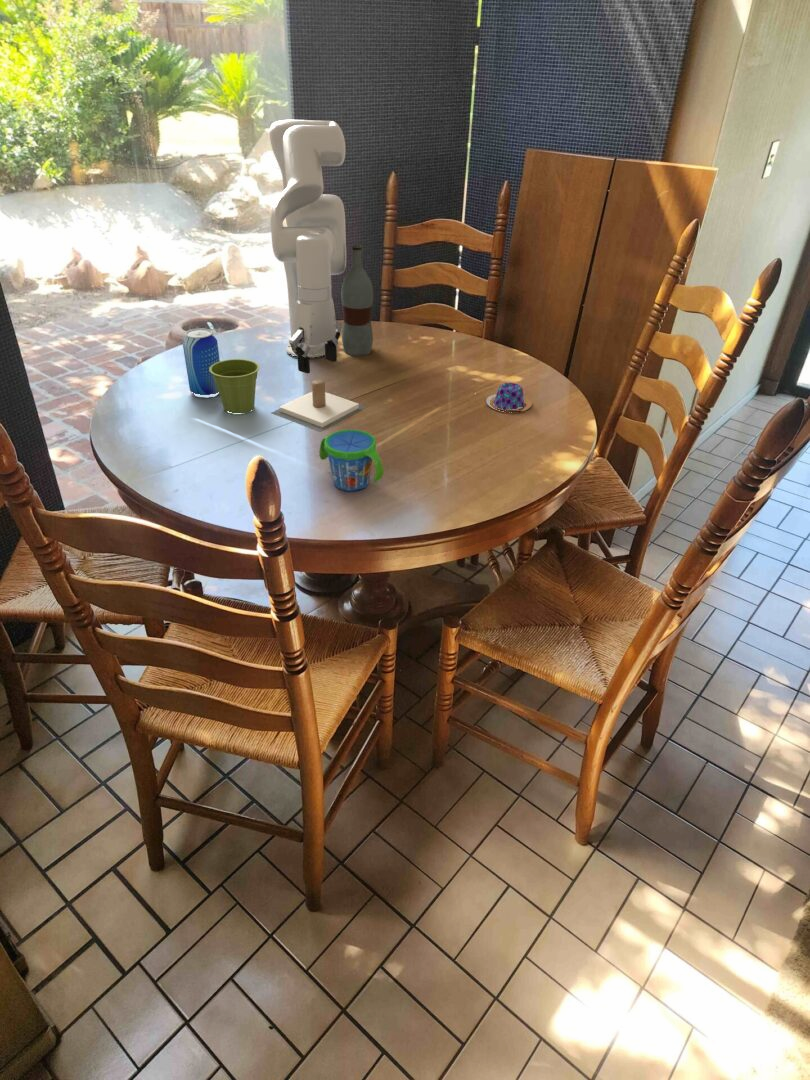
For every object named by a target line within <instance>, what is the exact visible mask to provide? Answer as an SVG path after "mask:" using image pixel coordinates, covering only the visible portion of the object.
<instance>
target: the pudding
mask: <svg viewBox="0 0 810 1080" xmlns="http://www.w3.org/2000/svg"><path fill="white" fill-rule="evenodd" d="M495 396H496V397H495ZM493 397H495V399H494V403H495V404H494V403H493V404H494V406H495V405H496V406H498V407H502V408H503V409H509V408H510V409H517V408H518V407H523V404H524V397H525V396H524V390H523V387H522V385H520V384H519V383H515V382H514V383H513V382H504V383H502V384H501V385H499V387H498V390H497V392H496V393H494V394H491V395H489V396H488V397H487V398H486V405H488V407H490V408H492V409H493V410H497V409H495V408H493V407H492V406H491V405H490V400H491V399H492V398H493ZM524 405H525V404H524ZM497 411H499V412H501V411H500V410H497ZM502 412H504V411H502ZM504 413H505V412H504ZM511 413H512V412H511Z"/></svg>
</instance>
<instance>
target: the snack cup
mask: <svg viewBox="0 0 810 1080" xmlns="http://www.w3.org/2000/svg"><path fill="white" fill-rule="evenodd" d="M376 448H377V440H376V437H375V436H374V435H372V434H371V433H369V432H367V431H364V430H359V429H342V430H338V431H334V432H332V433H330V434H329V435H327V436H325V437H323V438H322V439H321V441H320V446H319V451H318V452H319V459H321V460H322V461H324V460H326V459H328V463H329V468H330V473H331V478H332V482H333V485H334V486H335V487H337V488H338V489H339V490H344V491H346V492H353V491H359V490H362V489H365V488H366V487H367V486H368V484H369V482H370V478H371V471H372V465H374V468H375V472H374V476H373V482H379V481H380V480H381V479H382V478H383V475H384V467H383V463H382V458H381V456H380V454H379V452H378V451H377V449H376Z"/></svg>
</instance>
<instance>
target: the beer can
mask: <svg viewBox="0 0 810 1080" xmlns="http://www.w3.org/2000/svg"><path fill="white" fill-rule="evenodd" d="M218 344H219V343H218V340H217V338H216V337H215V335H214V334H213V331H212V330H211V329H209V328H203V327H202V328H201V327H200V328H192V329H188V330H187V331H185V333H184V338H183V340H182V347H183V354H184V362H185V368H186V374H187V379H188V387H189V391H190V392H191V393H192V392H193V393H195V394H200V395H210V394H216V393H218V392H219V391H218V387H217V384H216V382H215V380H214V377H213V374H212V373H211V372H210V370H209V368H210V366H211V365H213V364H214V363H217V362H219V361H221V360H220V351H219V345H218ZM193 393H192V394H193Z"/></svg>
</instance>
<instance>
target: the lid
mask: <svg viewBox="0 0 810 1080" xmlns="http://www.w3.org/2000/svg"><path fill="white" fill-rule="evenodd" d="M359 404H360V403H358V402H355V401H352V400H349V399H346V398H344V397H341V396H338V395H335V394H333V393H329V392H326V381H324V380H322V379H315V380H312V381H311V391H310V392H308V393H306V394H304V395H301V396H300V397H297V398H295V399H292V400H291V401H289V402H286V403H285V404H282V405H280V406H278V407H279V408H278V409H279V411H280V412H283V413H285V414H288V415H291V416H293V417H296V418H299V419H301V420H304V421H306V422H309V423H312V424H314V425H317V426H320V427H324V426H326V425H328V424H330V423H332V422H334V421H335V420H337V419H339V418H341V417H343V416H345V415H347V414H349V413H351V412H352V411H354V410H356V409H358V408H359Z"/></svg>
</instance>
